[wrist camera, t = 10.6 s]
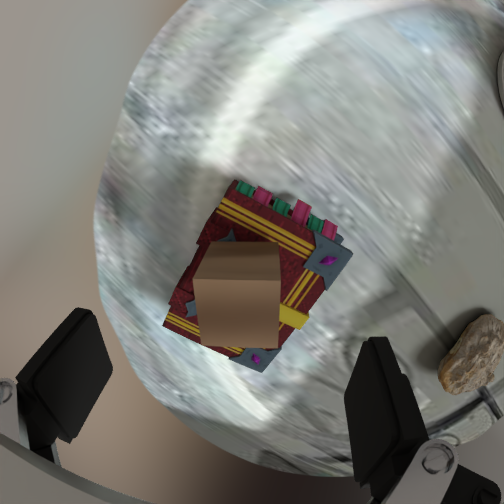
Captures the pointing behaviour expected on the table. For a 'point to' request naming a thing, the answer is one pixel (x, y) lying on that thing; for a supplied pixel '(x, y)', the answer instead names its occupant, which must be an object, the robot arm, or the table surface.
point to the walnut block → (239, 295)
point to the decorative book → (290, 254)
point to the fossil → (473, 356)
